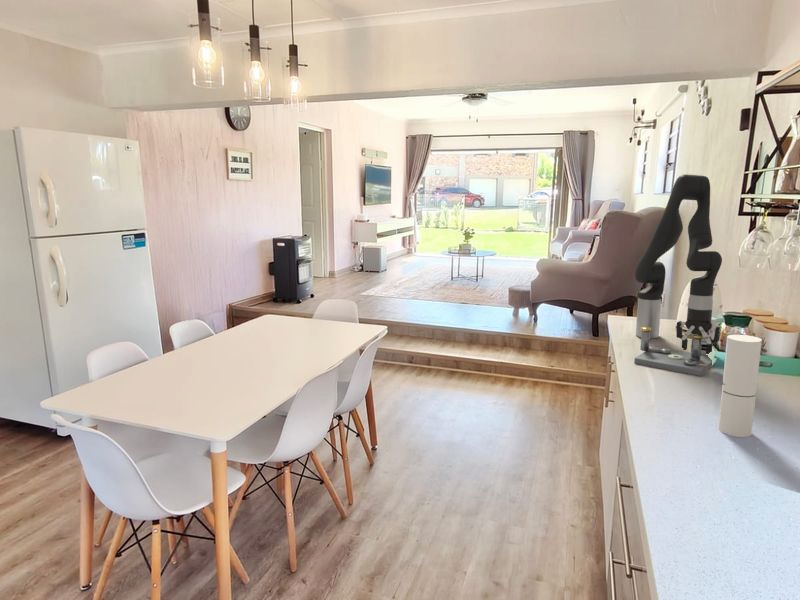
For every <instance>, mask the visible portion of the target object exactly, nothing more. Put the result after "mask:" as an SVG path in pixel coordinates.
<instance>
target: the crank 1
mask: <svg viewBox="0 0 800 600" xmlns="http://www.w3.org/2000/svg"><path fill="white" fill-rule="evenodd" d="M641 330H642V331H641V337H640V347H639V348H640V351H642V352H645V351H657V352H659V353H662V354H671V350H670V349H671V348H667V347H660V349H657V348H652V347H650V340H651V338H650V331H651V328H649V327H641Z"/></svg>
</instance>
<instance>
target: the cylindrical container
mask: <svg viewBox="0 0 800 600" xmlns="http://www.w3.org/2000/svg"><path fill="white" fill-rule="evenodd" d="M762 341H763V340H762V338H760V337H757V336H753V335H747V334H729V335H727V336H726V345H725V358H724V366H723V367H724V368H723V378H722V387H721V399H720V406H719V407H720V408H719V409H720V410H719V418H718V430H719V431H720V432H722V433H724V434H725V435H729V436H733V437H737V438H748V437H751V436H752V433H753V425H754V424H753V423H754V415H755V404H756V396H757V387H758V377H759V370H760V369H759V368H760V361H761V352H762V343H763V342H762Z"/></svg>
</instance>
